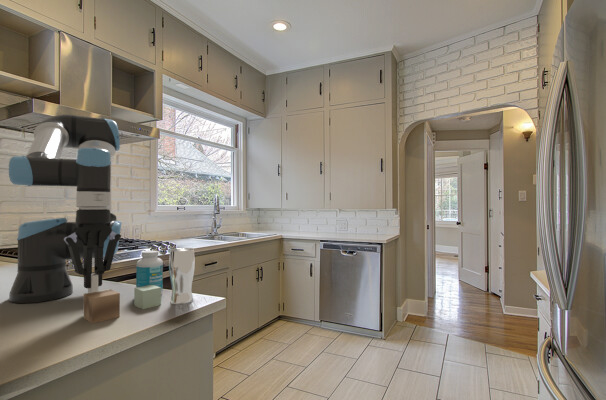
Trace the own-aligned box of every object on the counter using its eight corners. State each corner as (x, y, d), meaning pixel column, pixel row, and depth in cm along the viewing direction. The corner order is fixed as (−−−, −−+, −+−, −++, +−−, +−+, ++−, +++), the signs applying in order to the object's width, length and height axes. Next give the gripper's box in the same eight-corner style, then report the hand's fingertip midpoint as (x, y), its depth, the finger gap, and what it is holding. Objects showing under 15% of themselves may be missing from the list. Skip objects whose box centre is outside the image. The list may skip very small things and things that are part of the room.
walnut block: (83, 293, 83) (92, 298, 79) (109, 289, 88) (119, 293, 84) (83, 318, 83) (92, 323, 79) (109, 312, 88) (119, 317, 84)
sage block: (134, 306, 93) (134, 288, 93) (151, 302, 97) (152, 284, 97) (142, 309, 90) (143, 291, 90) (160, 305, 94) (160, 287, 94)
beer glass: (183, 296, 102) (183, 247, 102) (199, 300, 98) (200, 248, 99) (163, 302, 96) (163, 250, 96) (180, 306, 92) (180, 251, 92)
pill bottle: (152, 300, 99) (152, 253, 99) (130, 298, 100) (130, 252, 100) (167, 293, 106) (168, 250, 106) (146, 291, 107) (147, 249, 108)
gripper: (69, 209, 80) (68, 308, 80) (126, 208, 90) (125, 297, 90) (59, 208, 85) (58, 302, 84) (114, 208, 95) (113, 292, 95)
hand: (93, 299), depth 87 cm, fingers closed
